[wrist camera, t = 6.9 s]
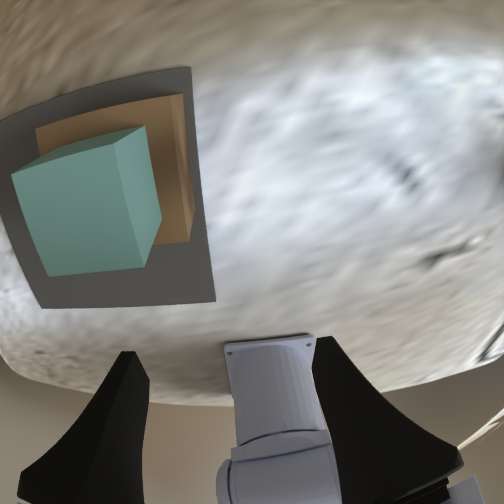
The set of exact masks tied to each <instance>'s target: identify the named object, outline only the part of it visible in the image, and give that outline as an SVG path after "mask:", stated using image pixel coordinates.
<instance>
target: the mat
mask: <svg viewBox="0 0 504 504" xmlns="http://www.w3.org/2000/svg"><path fill="white" fill-rule="evenodd" d="M182 93H183V102H184V114H185V125H186V135H187V145H188V155H189V164H190V173H191V181H192V189H193V197H194V205H195V211H194V216H193V222H192V227H191V232H190V238H189V242H179V243H168V244H157V245H152V247H151V250H150V252H149V255H148V258H147V261H146V264H145V266H144V267H141V268H131V269H121V270H112V271H102V272H92V273H82V274H72V275H62V276H52V277H49V276H48V274H47V272H46V270H45V268H44V266H43V263H42V261H41V259H40V256H39V254H38V252H37V249H36V247H35V244H34V242H33V239H32V237H31V234H30V232H29V229H28V226H27V224H26V221H25V218H24V215H23V212H22V209H21V206H20V203H19V200H18V197H17V194H16V190H15V187H14V184H13V180H12V176H11V174H13V173H14V172H16V171H17V170H19V169H21V168H22V167H24V166H26V165H28V164H29V163H31V162H33V161H35V160H36V159H38V158H40V153H39V148H38V142H37V137H36V131H35V129H37V128H39V127H42V126H45V125H48V124H50V123H53V122H56V121H59V120H62V119H66V118H69V117H72V116H75V115H79V114H83V113H86V112H90V111H94V110H98V109H102V108H106V107H110V106H114V105H119V104H123V103H128V102H133V101H138V100H144V99H149V98H155V97H161V96H168V95H175V94H182ZM0 214H1V217H2V220H3V223H4V226H5V228H6V231H7V234H8V237H9V239H10V242H11V244H12V247H13V249H14V252H15V254H16V256H17V259H18V261H19V263H20V266H21V268H22V270H23V272H24V275H25V277H26V279H27V281H28V283H29V285H30V287H31V289H32V291H33V293H34V295H35V297H36V299H37V301H38V303H39V305H40V307H41V308H42V309H66V308H113V307H139V306H159V305H177V304H193V303H207V302H216V295H215V288H214V281H213V275H212V267H211V260H210V253H209V245H208V238H207V230H206V222H205V214H204V205H203V197H202V188H201V179H200V169H199V159H198V149H197V138H196V127H195V116H194V103H193V90H192V75H191V67H184V68H177V69H170V70H164V71H158V72H152V73H147V74H141V75H137V76H132V77H127V78H123V79H118V80H114V81H110V82H106V83H103V84H99V85H95V86H92V87H88V88H85V89H81V90H78V91H75V92H72V93H69V94H66V95H63V96H60V97H57V98H54V99H51V100H49V101H46V102H43V103H41V104H38V105H36V106H33V107H31V108H28V109H26V110H23V111H21V112H19V113H17V114H14V115H12V116H10V117H8V118H6V119H3V120H1V121H0Z"/></svg>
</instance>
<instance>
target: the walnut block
mask: <svg viewBox="0 0 504 504" xmlns="http://www.w3.org/2000/svg"><path fill="white" fill-rule="evenodd" d="M140 126H145V129H146V135H147V141H148V147H149V153H150V159H151V165H152V170H153V176H154V181H155V186H156V191H157V196H158V201H159V206H160V211H161V215H162V221H161V223H160V226H159V228H158V231H157V234H156V236H155V239H154V242H153V244H152V245H157V244H168V243H179V242H189V238H190V232H191V227H192V222H193V216H194V211H195V205H194V197H193V189H192V181H191V173H190V164H189V155H188V145H187V135H186V125H185V114H184V102H183V93H182V94H175V95H168V96H161V97H155V98H149V99H144V100H138V101H133V102H128V103H123V104H119V105H114V106H110V107H106V108H102V109H98V110H94V111H90V112H86V113H83V114H79V115H75V116H72V117H69V118H66V119H62V120H59V121H56V122H53V123H50V124H48V125H45V126H42V127H39V128H37V129H35V131H36V137H37V142H38V148H39V153H40V157H42V156H44V155H45V154H47V153H49V152H51V151H53V150H55V149H57V148H59V147H62V146H65V145H68V144H72V143H75V142H78V141H82V140H85V139H89V138H93V137H97V136H100V135H104V134H108V133H113V132H117V131H121V130H126V129H130V128H135V127H140Z"/></svg>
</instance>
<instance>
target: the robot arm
mask: <svg viewBox="0 0 504 504" xmlns="http://www.w3.org/2000/svg"><path fill="white" fill-rule="evenodd" d="M314 342H315V339H314V336H313V335H303V336H295V337H287V338H278V339H269V340H260V341H249V342H238V343H227V344H225V345H224V355H225V360H226V366H227V372H228V377H229V382H230V388H231V393H232V398H233V399H234V412H235V425H236V438H237V447H235V448H231V459H226V460H225V461H224V462H223V463H222V465H221V467H220V468H219V470H218V472H217V477H216V494H217V500H218V504H485V502H484V499H483V497H482V494H481V491H480V488H479V485H478V483H477V480H476V477H475V475H472V476H470V477H468V478H466V479H465V480H463V481H461V482H459V483H458V484H456V485H454V486H452V487H450V488H448V489H447V486H446V485H447V484H448V483H449V481H448V478H447V477H448V476H449V475H451V474H453V473H454V472H456V471H457V470H459V469H460V468H462V467H463V466H464V462H463V460H462V457H461V455H460V453H459V451H458V449H457V447H455V446H453V445H451V444H449V443H447V442H445V441H443V440H441V439H439V438H438V437H436V436H434V435H433V434H431V433H429V432H428V431H426V430H424V429H423V428H422V427H420V426H419V425H417V424H416V423H414V422H413V421H412V420H410V419H409V418H407V417H406V416H405V415H404V414H403V413H401V412H400V411H399V410H398V409H396V408H395V407H394V406H393V405H392V404H390V402H389V401H387V400H386V399H385V398H384V397H383V396H382V395H381V394H380V393H379V392H378V391H377V390H376V389H375V388H374V387H373V386H372V384H371V383H370V382H369V381H368V380H367V379H366V378H365V377H364V375H363V374H362V373H361V372H360V371H359V370H358V369H357V367H356V366H355V365H354V364H353V362H352V361H351V360H350V359H349V357H348V356H347V355H346V354H345V352H344V351H343V350H342V348H341V347H340V345H339V344H338V343H337V341H336V340H335V339H334V337H332V336H327V337H321V338H317V340H316V346H315V352H314V357H313V362H312V374H313V379H314V384H315V388H314V384H313V380H312V377H311V373H310V364H311V359H312V353H313V348H314ZM149 383H150V380H149V378H148V376H147V374H146V372H145V370H144V368H143V366H142V364H141V362H140V360H139V358H138V356H137V354H136V352H135V351H122V352H121V353H120V354H119V356H118V358H117V359H116V361H115V362H114V364H113V366H112V367H111V369H110V371H109V372H108V374H107V376H106V377H105V379H104V381H103V382H102V384H101V385H100V387H99V389H98V390H97V392H96V393H95V395H94V396H93V398H92V399H91V401H90V402H89V404H88V405H87V407H86V408H85V409H84V411H83V412H82V414H81V415H80V416H79V418H78V419H77V420H76V421H75V423H74V424H73V425H72V426H71V427H70V429H69V430H68V431H67V432H66V433H65V434H64V435H63V436H62V438H61V439H60V440H59V441H58V442H57V443H56V444H55V445H54V446H53V447H52V448H51V449H49V450H48V451H47V453H45V454H44V455H43V456H42V457H41V458H39V459H38V460H37V461H36V462H34V463H33V464H32V465H30V466H29V467H27V468H26V469H25V470H23V471H22V472H21V474H20V480H19V485H18V491H17V496H18V498H20V499H22V500H25V501H27V502H29V503H31V504H145V503H144V495H143V480H142V447H143V439H144V431H145V425H146V418H147V411H148V404H149ZM315 389H316V392H317V395H318V398H319V402H320V405H321V408H322V411H323V414H324V416H325V420H326V423H327V426H328V429H329V432H330V435H331V439H332V444H331V440H330V436H329V433H328V430H327V429H325V426H324V422H323V418H322V414H321V410H320V407H319V403H318V399H317V395H316V392H315ZM332 446H333V447H332ZM17 504H21V503H19V502H18V503H17Z"/></svg>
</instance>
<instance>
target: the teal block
mask: <svg viewBox="0 0 504 504" xmlns="http://www.w3.org/2000/svg"><path fill="white" fill-rule="evenodd" d="M11 176H12V180H13V184H14V187H15V190H16V194H17V197H18V200H19V203H20V206H21V209H22V212H23V215H24V218H25V221H26V224H27V226H28V229H29V232H30V234H31V237H32V239H33V242H34V244H35V247H36V249H37V252H38V254H39V256H40V259H41V261H42V263H43V266H44V268H45V270H46V272H47V274H48V276H49V277H52V276H62V275H72V274H82V273H92V272H102V271H112V270H121V269H131V268H141V267H144V266H145V264H146V261H147V258H148V255H149V252H150V250H151V247H152V244H153V242H154V239H155V236H156V234H157V231H158V228H159V226H160V223H161V221H162V215H161V211H160V206H159V201H158V196H157V191H156V186H155V181H154V176H153V170H152V165H151V159H150V153H149V147H148V141H147V135H146V129H145V126H140V127H135V128H130V129H126V130H121V131H117V132H113V133H108V134H104V135H100V136H97V137H93V138H89V139H85V140H82V141H78V142H75V143H72V144H68V145H65V146H62V147H59V148H57V149H55V150H53V151H51V152H49V153H47V154H45V155H44V156H42V157H40V158H38V159H36V160H35V161H33V162H31V163H29V164H28V165H26V166H24V167H22V168H21V169H19V170H17V171H16V172H14V173H13V174H11Z"/></svg>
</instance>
